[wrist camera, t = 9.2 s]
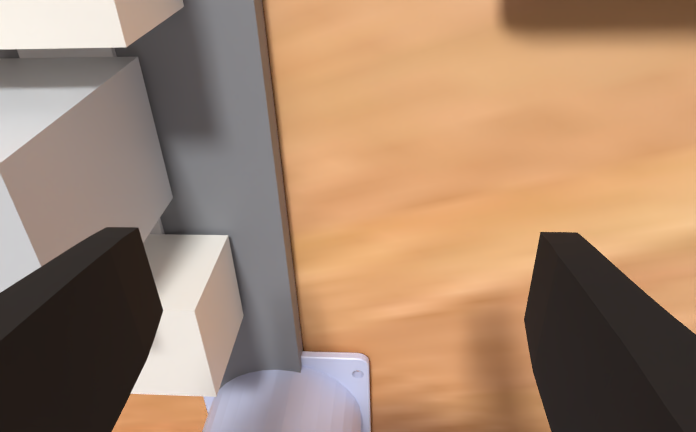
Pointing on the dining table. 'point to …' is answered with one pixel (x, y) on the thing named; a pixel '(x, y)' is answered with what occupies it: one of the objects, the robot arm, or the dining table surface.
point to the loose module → (74, 157)
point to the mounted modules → (162, 249)
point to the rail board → (222, 160)
